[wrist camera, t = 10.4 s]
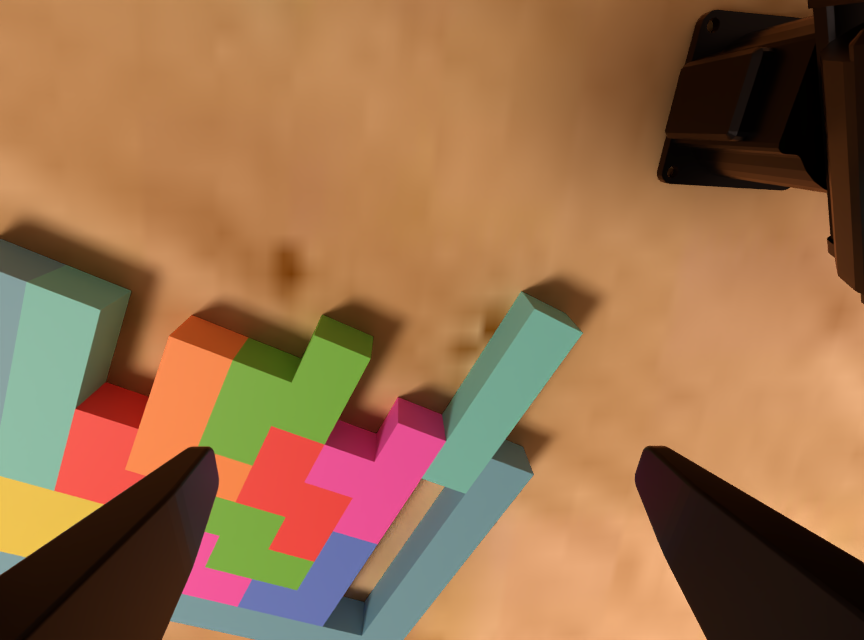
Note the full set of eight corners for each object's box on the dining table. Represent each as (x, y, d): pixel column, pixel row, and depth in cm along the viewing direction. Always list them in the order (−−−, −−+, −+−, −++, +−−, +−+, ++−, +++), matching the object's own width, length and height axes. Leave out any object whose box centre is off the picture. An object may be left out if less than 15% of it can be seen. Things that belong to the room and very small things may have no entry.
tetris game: (383, 625, 33) (602, 330, 24) (381, 666, 30) (628, 355, 21) (-39, 522, 26) (36, 41, 16) (-87, 565, 23) (-31, 25, 14)
